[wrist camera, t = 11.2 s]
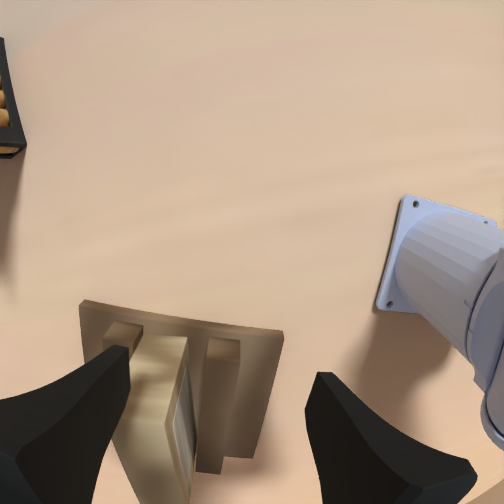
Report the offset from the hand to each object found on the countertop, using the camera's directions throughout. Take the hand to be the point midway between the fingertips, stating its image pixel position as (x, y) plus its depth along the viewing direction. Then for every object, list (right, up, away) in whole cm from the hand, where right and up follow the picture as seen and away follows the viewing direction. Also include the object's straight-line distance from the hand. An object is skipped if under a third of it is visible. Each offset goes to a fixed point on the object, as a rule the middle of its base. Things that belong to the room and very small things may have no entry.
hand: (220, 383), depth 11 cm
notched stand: (-5, -6, +11) cm, 13 cm away
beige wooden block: (-5, -5, +10) cm, 12 cm away
